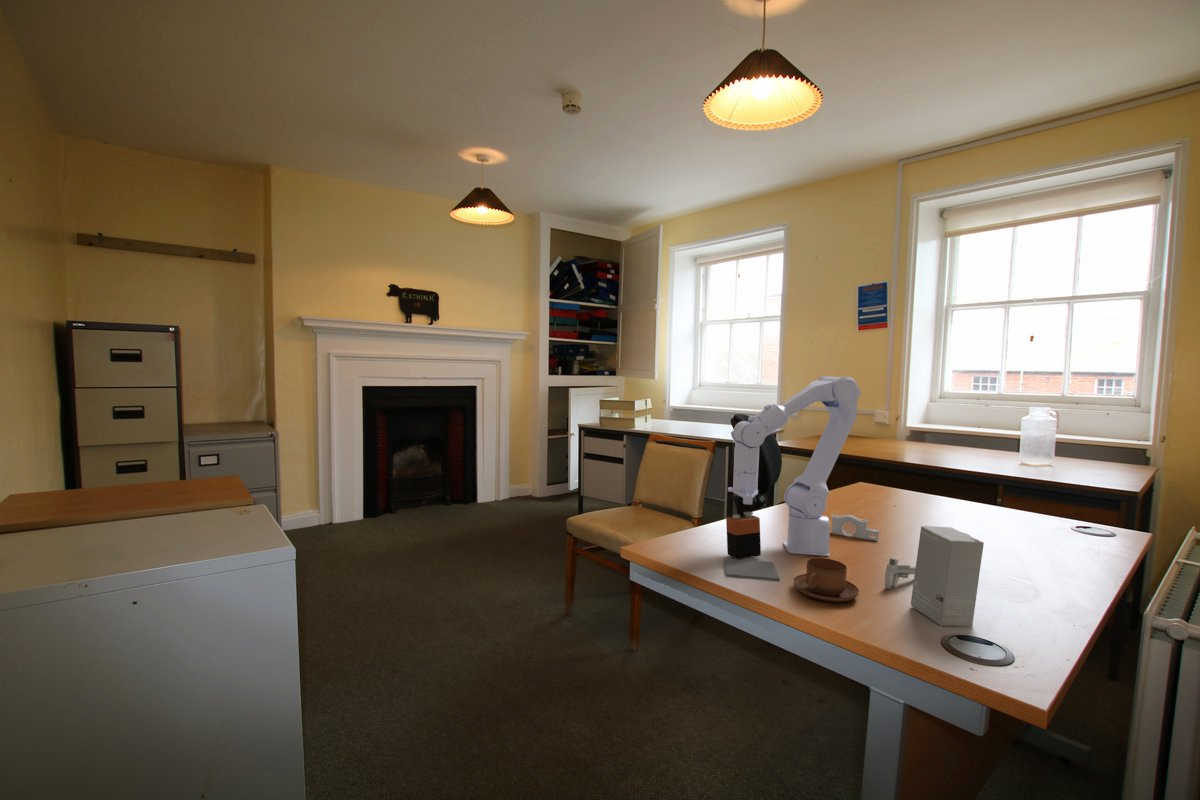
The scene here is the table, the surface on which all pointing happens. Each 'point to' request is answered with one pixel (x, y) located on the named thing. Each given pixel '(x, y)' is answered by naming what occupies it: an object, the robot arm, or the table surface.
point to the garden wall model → (860, 528)
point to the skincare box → (947, 575)
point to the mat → (750, 569)
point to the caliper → (896, 572)
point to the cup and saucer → (826, 581)
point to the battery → (743, 535)
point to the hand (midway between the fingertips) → (743, 526)
